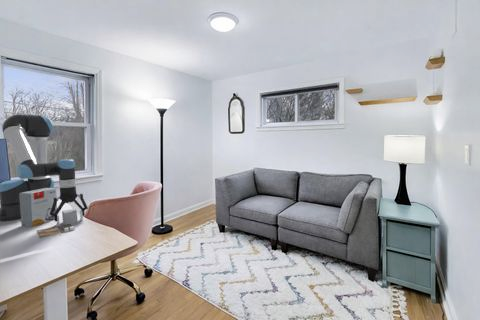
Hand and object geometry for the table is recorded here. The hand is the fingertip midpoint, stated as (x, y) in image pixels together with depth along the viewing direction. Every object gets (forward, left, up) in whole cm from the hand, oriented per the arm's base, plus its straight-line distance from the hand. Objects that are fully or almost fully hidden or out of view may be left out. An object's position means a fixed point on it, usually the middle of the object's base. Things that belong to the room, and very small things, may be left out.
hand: (70, 224), depth 139 cm
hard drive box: (-13, -12, 0) cm, 18 cm away
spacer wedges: (+14, -3, +1) cm, 15 cm away
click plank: (+9, -11, 0) cm, 14 cm away
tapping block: (0, 0, 0) cm, 0 cm away
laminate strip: (+9, -4, 0) cm, 10 cm away
